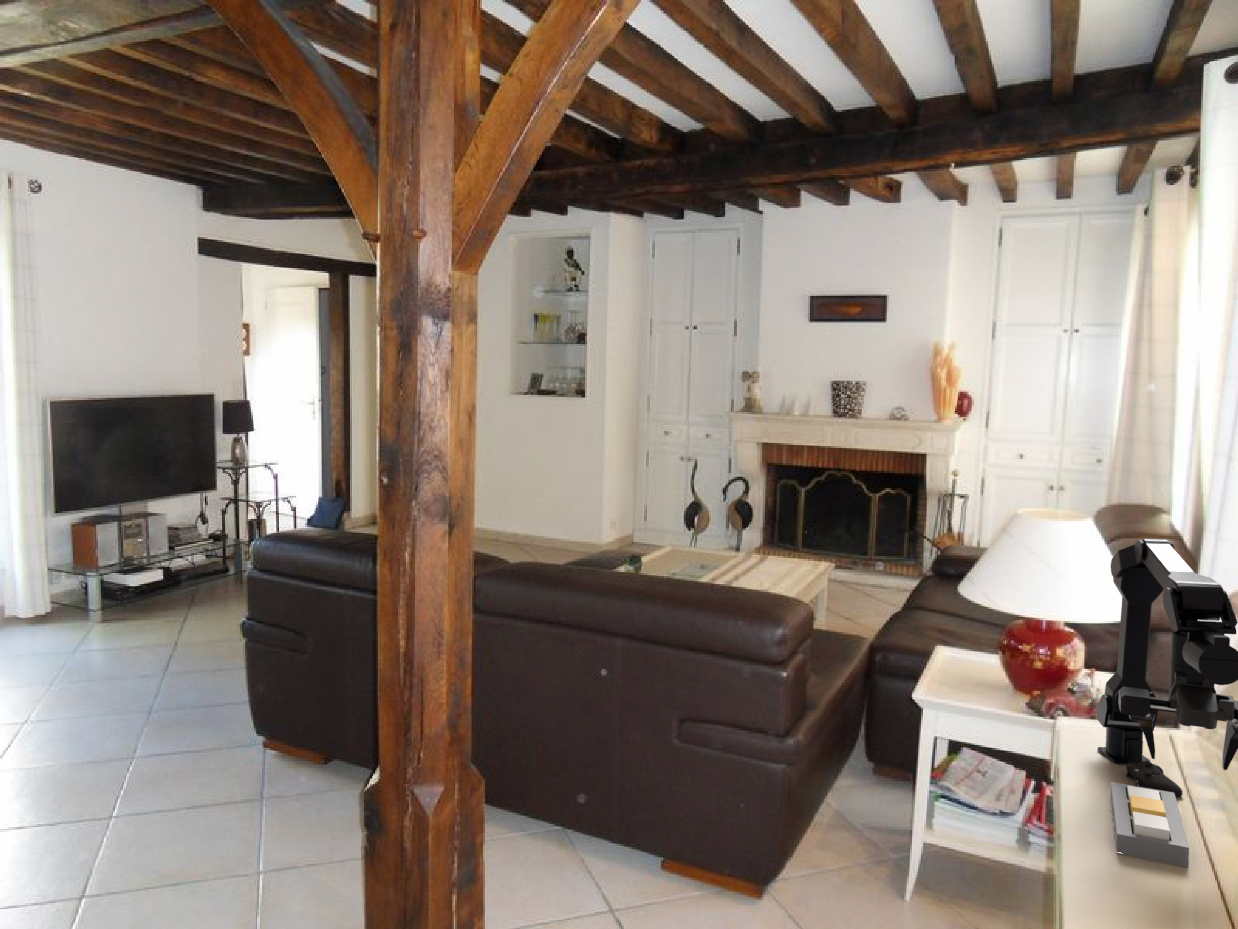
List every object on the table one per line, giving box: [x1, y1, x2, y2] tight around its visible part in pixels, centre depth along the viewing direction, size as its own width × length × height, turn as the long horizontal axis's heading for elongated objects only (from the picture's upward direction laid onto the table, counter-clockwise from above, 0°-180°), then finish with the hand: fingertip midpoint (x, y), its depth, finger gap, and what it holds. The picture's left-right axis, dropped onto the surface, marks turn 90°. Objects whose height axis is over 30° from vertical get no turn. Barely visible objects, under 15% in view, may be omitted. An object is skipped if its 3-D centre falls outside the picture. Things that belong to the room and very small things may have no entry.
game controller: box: [1125, 761, 1183, 799], centre depth 151 cm, size 10×5×6 cm
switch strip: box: [1109, 781, 1190, 868], centre depth 135 cm, size 19×9×3 cm, turn 153°
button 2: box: [1132, 811, 1170, 841], centre depth 130 cm, size 4×4×2 cm
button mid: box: [1130, 795, 1165, 817], centre depth 135 cm, size 4×4×2 cm
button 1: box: [1127, 785, 1161, 800], centre depth 141 cm, size 4×4×2 cm
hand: (1188, 763), depth 132 cm, fingers open, 9 cm apart
